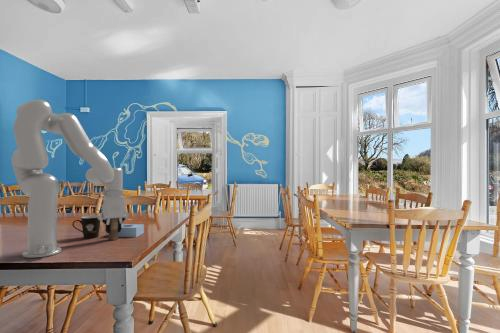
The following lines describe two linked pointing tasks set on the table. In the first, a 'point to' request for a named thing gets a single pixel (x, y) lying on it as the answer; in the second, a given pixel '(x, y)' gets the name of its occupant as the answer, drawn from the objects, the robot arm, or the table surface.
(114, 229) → the peg
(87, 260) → the table surface
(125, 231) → the socket board
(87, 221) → the coffee mug
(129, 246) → the table surface
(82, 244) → the table surface
